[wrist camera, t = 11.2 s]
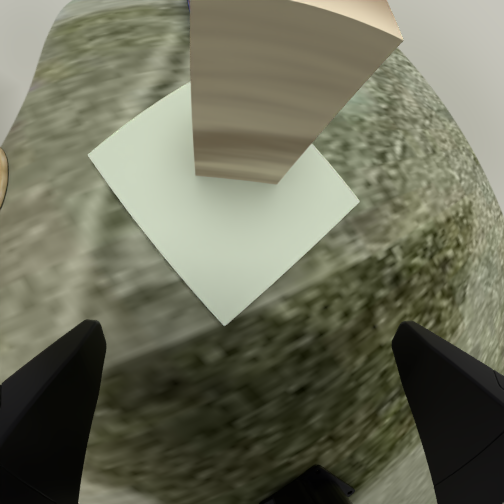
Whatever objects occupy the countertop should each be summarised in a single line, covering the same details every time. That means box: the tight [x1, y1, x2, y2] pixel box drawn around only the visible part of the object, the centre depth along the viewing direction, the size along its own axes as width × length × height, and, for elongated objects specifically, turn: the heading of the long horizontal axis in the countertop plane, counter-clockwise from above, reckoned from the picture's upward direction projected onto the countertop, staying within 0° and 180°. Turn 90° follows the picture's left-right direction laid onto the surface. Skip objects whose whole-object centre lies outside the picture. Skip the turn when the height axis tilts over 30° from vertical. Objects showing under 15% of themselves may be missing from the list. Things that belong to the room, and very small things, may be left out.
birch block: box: [190, 0, 403, 185], centre depth 11 cm, size 5×5×13 cm
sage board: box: [88, 81, 360, 326], centre depth 17 cm, size 14×12×1 cm
